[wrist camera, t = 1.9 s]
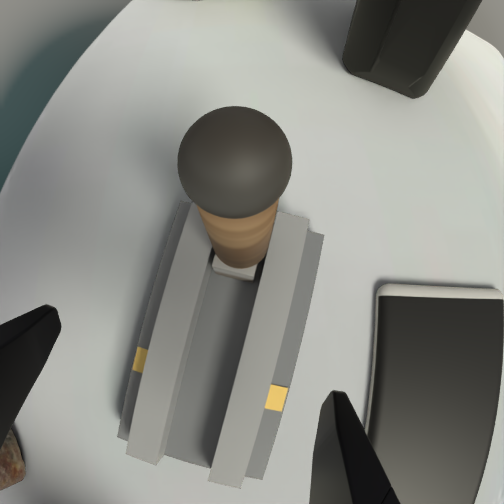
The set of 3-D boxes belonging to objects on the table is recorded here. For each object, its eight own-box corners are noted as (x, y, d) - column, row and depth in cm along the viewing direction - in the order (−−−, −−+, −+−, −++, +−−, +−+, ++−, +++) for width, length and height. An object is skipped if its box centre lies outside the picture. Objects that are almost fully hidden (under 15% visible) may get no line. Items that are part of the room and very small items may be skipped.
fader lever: (262, 285, 20) (285, 203, 8) (206, 271, 20) (146, 173, 8) (275, 232, 21) (309, 96, 8) (222, 219, 21) (192, 76, 9)
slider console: (261, 468, 19) (263, 492, 15) (127, 429, 19) (105, 445, 15) (318, 243, 23) (331, 224, 19) (185, 211, 23) (174, 188, 20)
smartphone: (494, 291, 23) (505, 288, 21) (450, 543, 16) (457, 550, 14) (372, 285, 23) (380, 281, 21) (329, 572, 16) (333, 583, 14)
